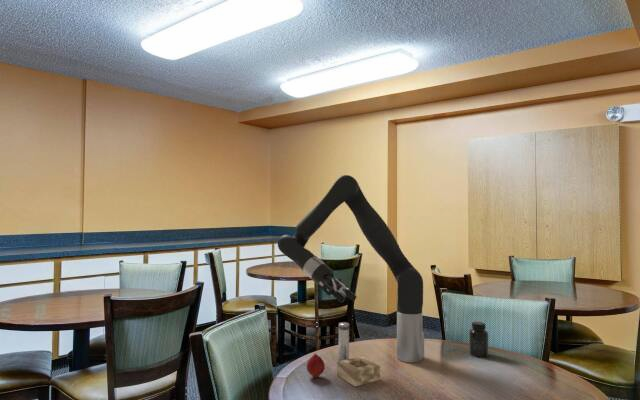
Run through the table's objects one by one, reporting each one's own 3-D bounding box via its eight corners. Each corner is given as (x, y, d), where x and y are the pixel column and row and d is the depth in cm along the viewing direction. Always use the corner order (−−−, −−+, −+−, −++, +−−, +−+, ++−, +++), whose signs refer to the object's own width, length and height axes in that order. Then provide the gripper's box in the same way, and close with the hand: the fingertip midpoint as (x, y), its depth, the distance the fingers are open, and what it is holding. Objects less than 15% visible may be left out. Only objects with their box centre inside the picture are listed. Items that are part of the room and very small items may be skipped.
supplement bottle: (472, 350, 163) (472, 319, 163) (490, 354, 159) (490, 322, 159) (466, 355, 157) (466, 323, 158) (485, 359, 153) (485, 326, 154)
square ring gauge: (361, 369, 142) (361, 356, 142) (380, 379, 134) (380, 365, 134) (337, 375, 137) (337, 361, 137) (354, 386, 128) (354, 371, 129)
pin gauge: (345, 364, 147) (345, 321, 147) (351, 368, 144) (351, 324, 144) (336, 366, 145) (336, 323, 146) (342, 370, 142) (342, 325, 142)
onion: (326, 375, 137) (326, 351, 137) (321, 382, 131) (321, 356, 132) (310, 373, 139) (310, 349, 139) (303, 379, 133) (304, 354, 134)
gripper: (313, 263, 147) (345, 292, 138) (333, 263, 159) (364, 290, 150) (302, 279, 148) (333, 310, 140) (322, 278, 160) (353, 306, 152)
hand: (349, 300), depth 145 cm, fingers open, 8 cm apart
